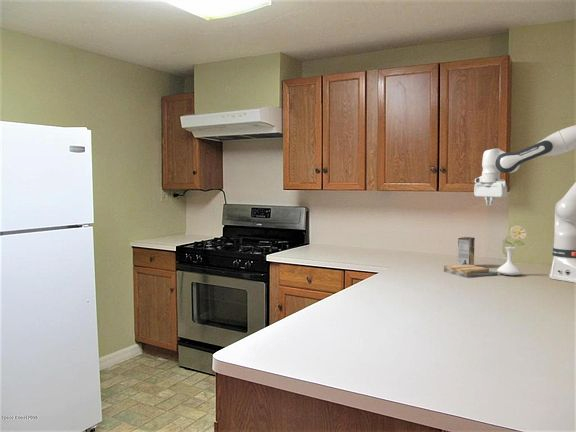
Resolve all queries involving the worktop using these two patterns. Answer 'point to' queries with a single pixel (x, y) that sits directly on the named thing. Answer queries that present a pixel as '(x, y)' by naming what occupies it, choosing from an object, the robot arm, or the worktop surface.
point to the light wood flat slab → (472, 268)
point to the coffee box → (466, 250)
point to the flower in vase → (509, 266)
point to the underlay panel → (491, 273)
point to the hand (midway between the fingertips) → (489, 205)
